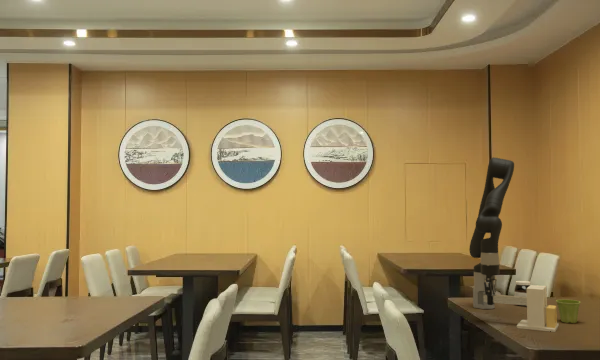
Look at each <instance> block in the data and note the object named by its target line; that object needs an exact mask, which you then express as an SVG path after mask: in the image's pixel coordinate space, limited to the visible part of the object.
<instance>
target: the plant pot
mask: <svg viewBox="0 0 600 360" xmlns="http://www.w3.org/2000/svg"><path fill="white" fill-rule="evenodd" d="M555 302H556V304H557V305H556V306H557V307H558V308H557V309H558V311H559V316H560V317H559V318H560V321H561V322H562V323H566V324H567V323H568V324H569V323H571V324H576V323H578V317H579V316H578V315H579V307H580V305H581V301H580V300H575V299H556V300H555Z"/></svg>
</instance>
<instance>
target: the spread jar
mask: <svg viewBox="0 0 600 360" xmlns="http://www.w3.org/2000/svg"><path fill="white" fill-rule="evenodd" d="M530 285H531V281H529V280H516V281H515V286H514V295H513V296H520V297H527V288H528V287H529V286H530ZM517 306H518V307H527V305H517Z"/></svg>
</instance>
